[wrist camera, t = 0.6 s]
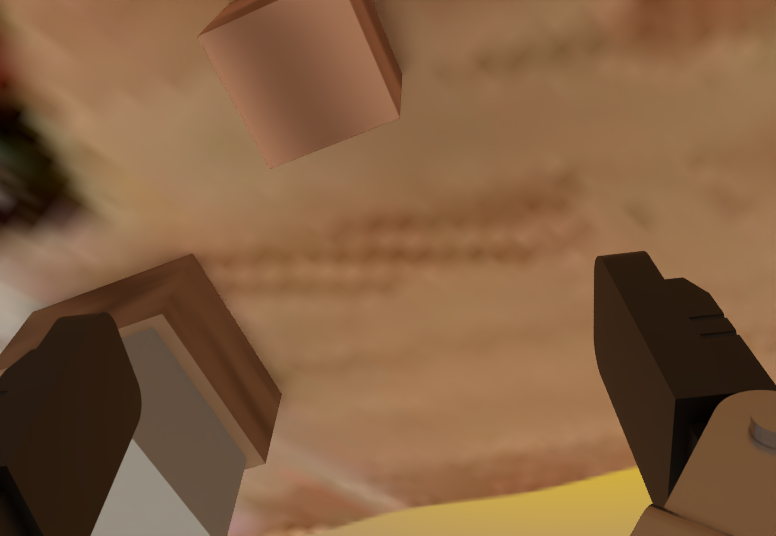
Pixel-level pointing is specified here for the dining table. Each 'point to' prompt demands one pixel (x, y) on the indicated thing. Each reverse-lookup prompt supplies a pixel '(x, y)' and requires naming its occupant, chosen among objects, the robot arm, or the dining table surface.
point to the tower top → (171, 456)
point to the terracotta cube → (304, 72)
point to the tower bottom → (181, 344)
